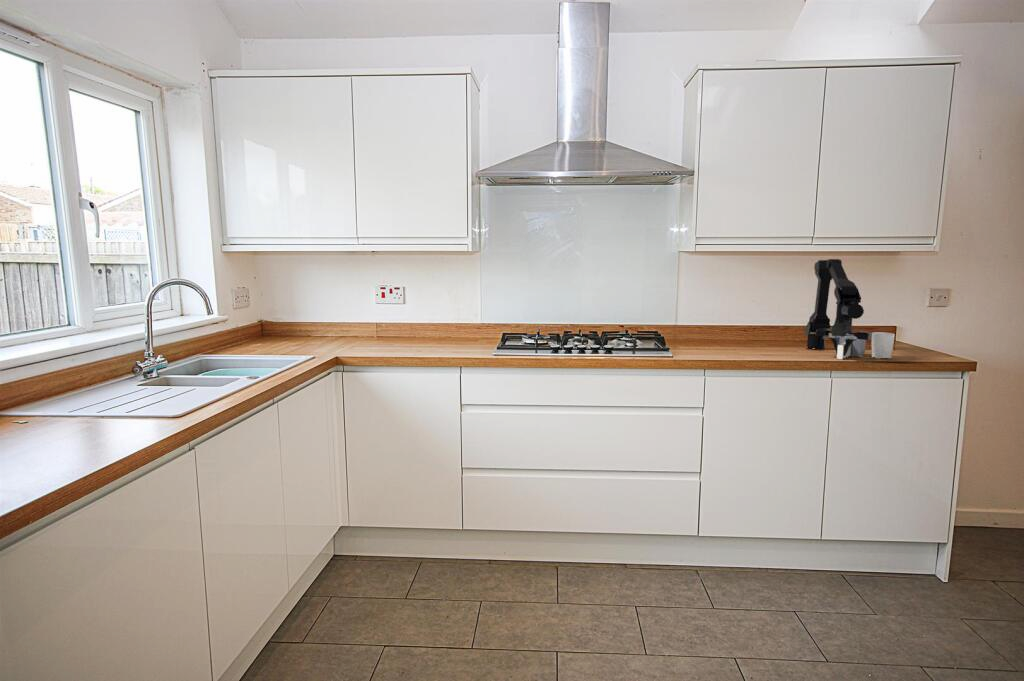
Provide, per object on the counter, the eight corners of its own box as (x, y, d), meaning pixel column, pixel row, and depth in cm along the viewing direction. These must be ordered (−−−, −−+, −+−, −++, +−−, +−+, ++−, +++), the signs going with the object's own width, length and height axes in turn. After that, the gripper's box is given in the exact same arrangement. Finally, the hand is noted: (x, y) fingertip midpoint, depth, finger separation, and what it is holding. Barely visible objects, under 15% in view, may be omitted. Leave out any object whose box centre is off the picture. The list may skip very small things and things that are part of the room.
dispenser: (840, 352, 249) (842, 332, 248) (864, 355, 243) (866, 334, 242) (835, 354, 244) (837, 334, 243) (860, 357, 238) (861, 336, 236)
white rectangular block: (846, 354, 243) (847, 341, 242) (851, 355, 242) (853, 341, 241) (836, 358, 232) (837, 344, 231) (842, 359, 231) (843, 345, 230)
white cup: (869, 358, 236) (871, 333, 234) (870, 355, 242) (872, 331, 241) (892, 359, 231) (894, 335, 230) (892, 357, 238) (894, 333, 237)
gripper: (812, 316, 231) (809, 354, 233) (866, 319, 218) (862, 360, 220) (820, 314, 239) (818, 351, 241) (873, 317, 227) (869, 356, 229)
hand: (841, 355), depth 233 cm, fingers closed on white rectangular block, 2 cm apart
